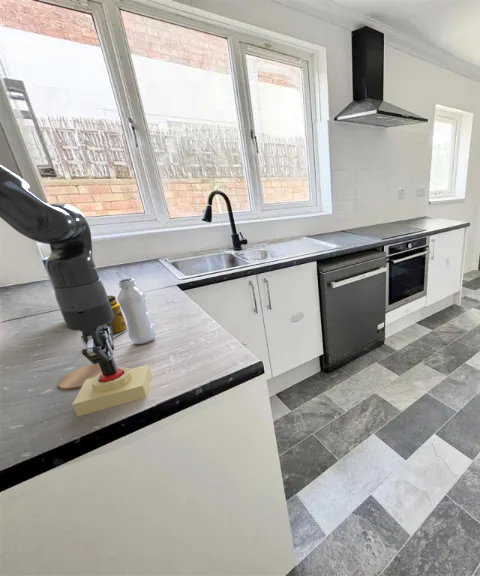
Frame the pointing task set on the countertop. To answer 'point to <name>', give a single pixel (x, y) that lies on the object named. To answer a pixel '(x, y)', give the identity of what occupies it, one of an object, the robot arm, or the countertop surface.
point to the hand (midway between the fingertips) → (110, 373)
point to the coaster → (79, 377)
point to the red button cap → (111, 376)
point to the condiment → (116, 318)
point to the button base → (112, 390)
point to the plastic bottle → (135, 312)
